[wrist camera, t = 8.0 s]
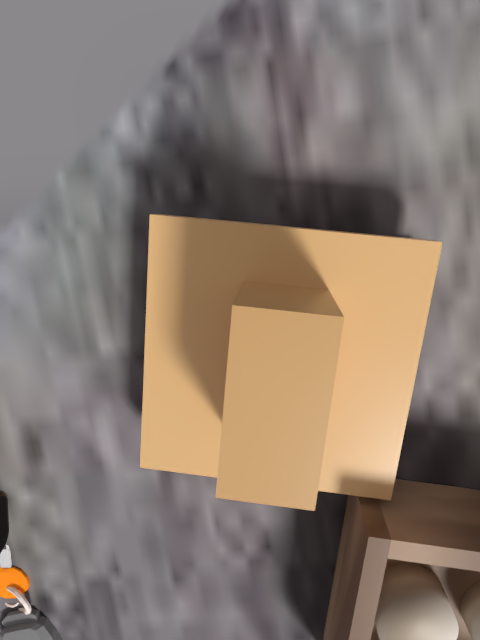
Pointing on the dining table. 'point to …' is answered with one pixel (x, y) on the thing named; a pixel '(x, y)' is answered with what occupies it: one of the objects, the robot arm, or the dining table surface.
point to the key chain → (26, 623)
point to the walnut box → (408, 566)
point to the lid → (281, 356)
